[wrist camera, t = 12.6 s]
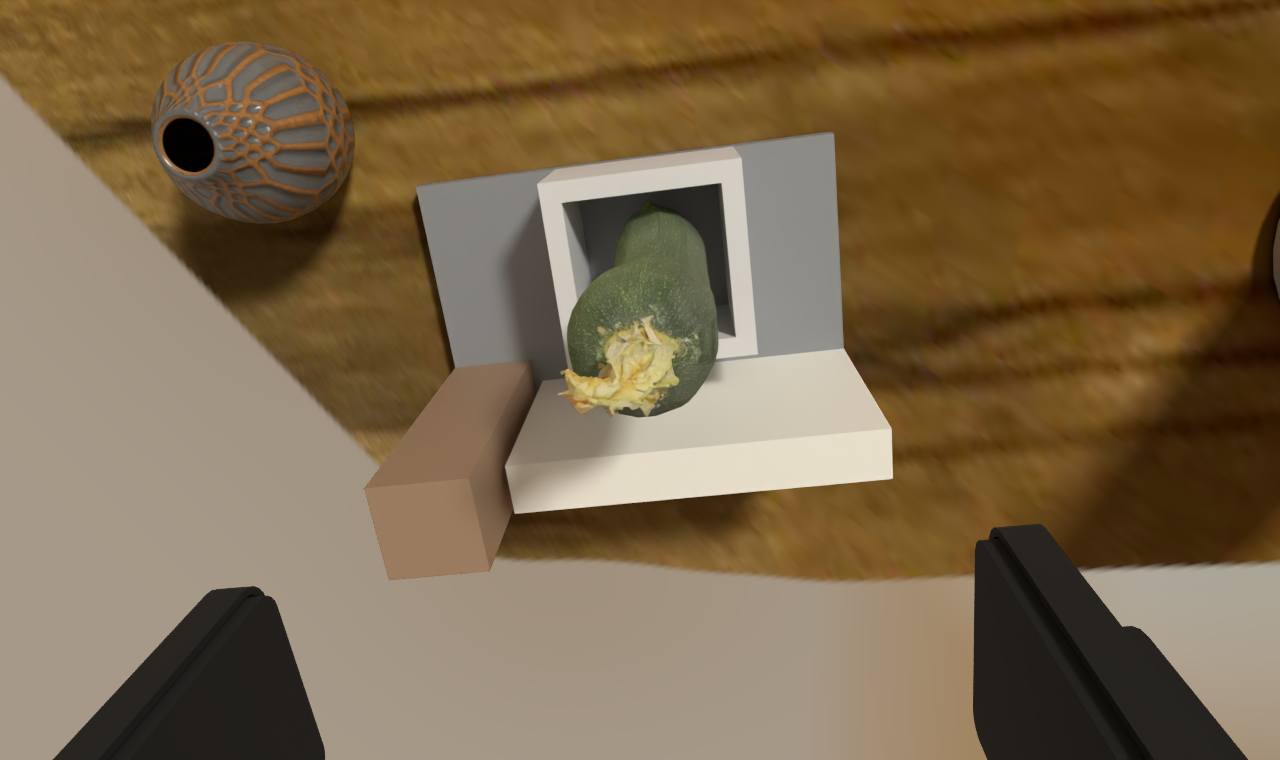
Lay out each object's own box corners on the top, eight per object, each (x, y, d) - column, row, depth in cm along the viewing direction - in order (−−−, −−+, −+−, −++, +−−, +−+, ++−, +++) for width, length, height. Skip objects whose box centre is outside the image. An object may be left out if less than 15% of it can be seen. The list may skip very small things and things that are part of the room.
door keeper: (829, 131, 35) (909, 163, 23) (841, 391, 39) (915, 534, 27) (422, 184, 37) (296, 239, 25) (475, 428, 41) (388, 579, 29)
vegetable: (726, 246, 36) (777, 438, 17) (656, 313, 37) (633, 558, 19) (655, 173, 35) (629, 293, 16) (585, 243, 36) (487, 430, 18)
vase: (192, 71, 36) (46, 71, 27) (338, 23, 35) (232, 8, 26) (260, 226, 38) (144, 268, 30) (399, 184, 37) (319, 216, 29)
